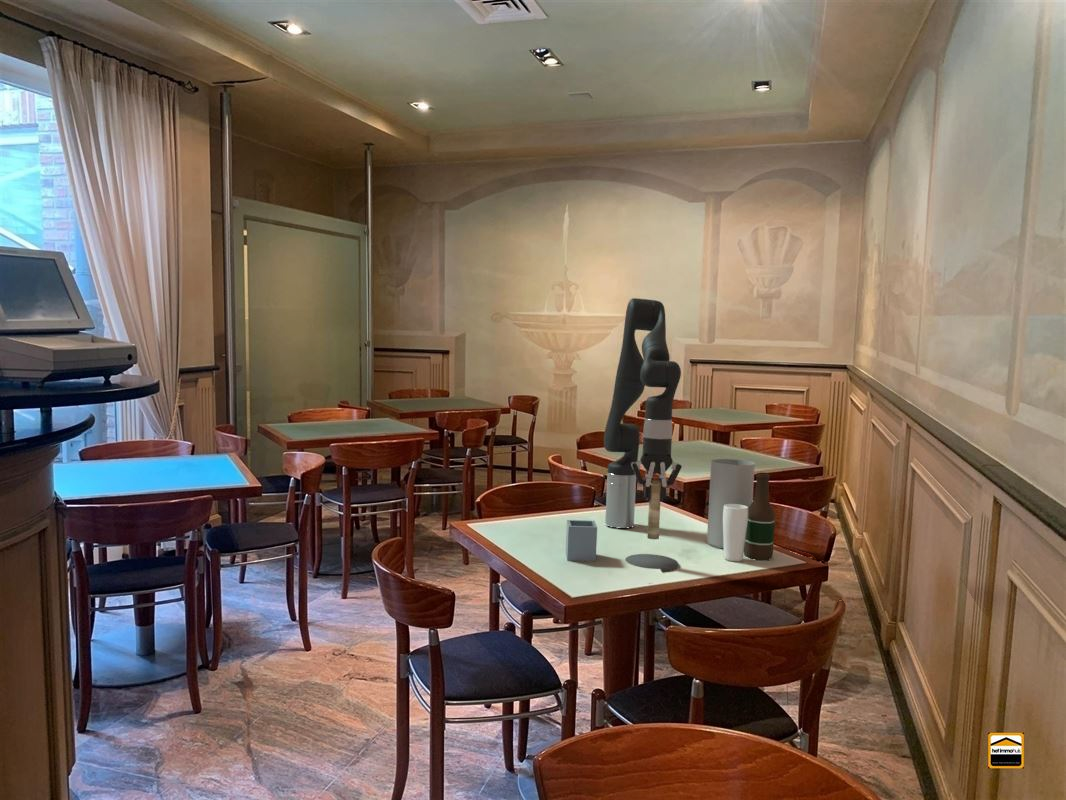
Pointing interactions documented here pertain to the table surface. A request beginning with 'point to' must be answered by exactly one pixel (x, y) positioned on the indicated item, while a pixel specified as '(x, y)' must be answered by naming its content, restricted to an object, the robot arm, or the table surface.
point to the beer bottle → (760, 522)
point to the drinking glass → (734, 531)
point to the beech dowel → (654, 509)
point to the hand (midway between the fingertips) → (654, 499)
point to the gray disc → (652, 561)
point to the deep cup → (581, 540)
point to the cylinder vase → (727, 493)
